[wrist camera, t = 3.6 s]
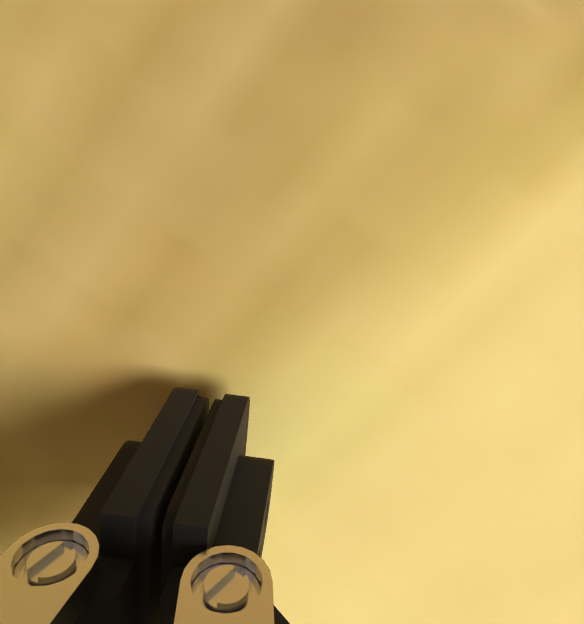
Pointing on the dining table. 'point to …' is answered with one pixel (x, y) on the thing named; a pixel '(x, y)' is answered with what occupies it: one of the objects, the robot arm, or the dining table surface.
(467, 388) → the dining table surface
